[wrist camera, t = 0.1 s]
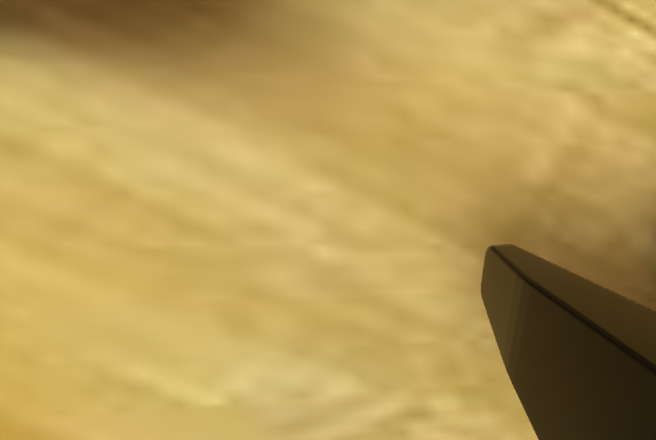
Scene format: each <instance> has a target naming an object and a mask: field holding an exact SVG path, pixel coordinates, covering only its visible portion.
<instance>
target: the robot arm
mask: <svg viewBox="0 0 656 440" xmlns="http://www.w3.org/2000/svg"><path fill="white" fill-rule="evenodd" d="M481 295H482V299H483V302H484V305H485V308H486V311H487V314H488V317H489V320H490V323H491V326H492V329H493V332H494V335H495V338H496V341H497V344H498V347H499V350H500V353H501V356H502V359H503V362H504V365H505V368H506V370H507V373H508V375H509V377H510V380H511V382H512V384H513V386H514V389H515V391H516V393H517V395H518V397H519V399H520V401H521V403H522V405H523V408H524V410H525V412H526V414H527V416H528V418H529V420H530V422H531V424H532V427H533V429H534V431H535V433H536V435H537V437H538V439H539V440H656V312H655V311H653V310H651V309H649V308H647V307H645V306H642V305H640V304H638V303H636V302H634V301H632V300H630V299H627V298H625V297H623V296H621V295H619V294H617V293H615V292H613V291H610V290H608V289H606V288H604V287H602V286H600V285H598V284H596V283H593V282H591V281H589V280H587V279H585V278H583V277H581V276H578V275H576V274H574V273H572V272H570V271H568V270H566V269H564V268H561V267H559V266H557V265H555V264H553V263H551V262H549V261H547V260H544V259H542V258H540V257H538V256H536V255H534V254H532V253H529V252H527V251H525V250H523V249H521V248H519V247H517V246H515V245H511V244H505V245H492V246H490V247H488V248H487V251H486V253H485V260H484V267H483V274H482V282H481Z"/></svg>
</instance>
